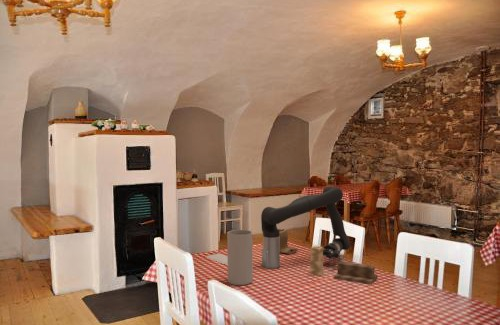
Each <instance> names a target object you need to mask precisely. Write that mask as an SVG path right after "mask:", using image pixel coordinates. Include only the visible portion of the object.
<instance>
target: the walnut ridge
mask: <svg viewBox="0 0 500 325" xmlns="http://www.w3.org/2000/svg"><path fill="white" fill-rule="evenodd" d="M336 270H337V273H335V274H334V275H333V279H335V280H338V281H339V280H340V281H347V282H353V283H359V284H364V285H365V284H366V285H372V284H373V283H374V282H375V281H376V280H377V279H378V274H375V265H367V264H362V263H361V264H359V263H355V262H354V263H353V262H346V261H338V263H337V269H336Z"/></svg>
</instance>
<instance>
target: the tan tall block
mask: <svg viewBox="0 0 500 325" xmlns="http://www.w3.org/2000/svg"><path fill="white" fill-rule="evenodd" d="M323 248H324V246H318V245H313V246H312V247H310V262H309V264H310V275H312V274H313V275H314V276H319V275H320V276H321V275H322V274H324V256H323ZM313 275H312V276H313Z"/></svg>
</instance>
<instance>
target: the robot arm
mask: <svg viewBox="0 0 500 325" xmlns="http://www.w3.org/2000/svg"><path fill="white" fill-rule="evenodd" d="M343 197H344V192H343V190H342V189H341V188H339V187H338V186H332V185H331V186H325V187H324V189H323V190H322V193H319V194H310V195H309V194H308V195H304V196H302V197H299V198H296V199H294V200H293V201H292V202H290V203H289V204H287V205H285V206H282V207H278V208H276V207H272V206H266V207H265V208H263V210H262V211H261V213H260V214H261V215H260V219H261V232H262V237H263V238H262V244H263V245H262V246H263V247H262V249H261V267H263V268H265V269H278V268H280V267H281V266H280V265H281V264H280V263H281V261H280V260H281V259H280V258H281V257H280V253H281V252H280V232H279V230H278V229H279V228H278V227H277V225H279V224H280V223H283V222H285V221H286V220H289V219H291V218H294V217H298V216H300V215H303V214H307V213H309V212H312V211H314V210H317V209H319V208H322V207H324V206H325V207H326V210H327V212H328V215H329V219H330V223H331V228H332V233H333V234H332V235H333V236H336V237H337V238H336V237H335V238H333V240H332V241H331V242H329V243H327V244H326V245H325V246H323V257H326V258H327V259H328V260H330V259H331V260H332V259H334V258H335V259H338V258H339V257H340V256H341V255H340V254H341V252H342V251H347V250H349V249H350V247H351V241H350V239H349V237H348V235H347V232H346V231H345V224H344V221H343V218H342V215H341V213H340V212H339V211H338V207H337V205H336V204H337V203H339V202H340V201H341V200H342V199H343ZM338 237H339V238H338Z"/></svg>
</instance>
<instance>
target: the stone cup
mask: <svg viewBox="0 0 500 325" xmlns="http://www.w3.org/2000/svg"><path fill="white" fill-rule="evenodd" d="M277 229H278V230H279V232H280V253H282V254H288V255H293V254H296V253H297V252H298V251H299V250H298V248H296V247H295V248H294V247H290V246H289V245H288V241H289V233H288V230H287V228H277Z"/></svg>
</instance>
